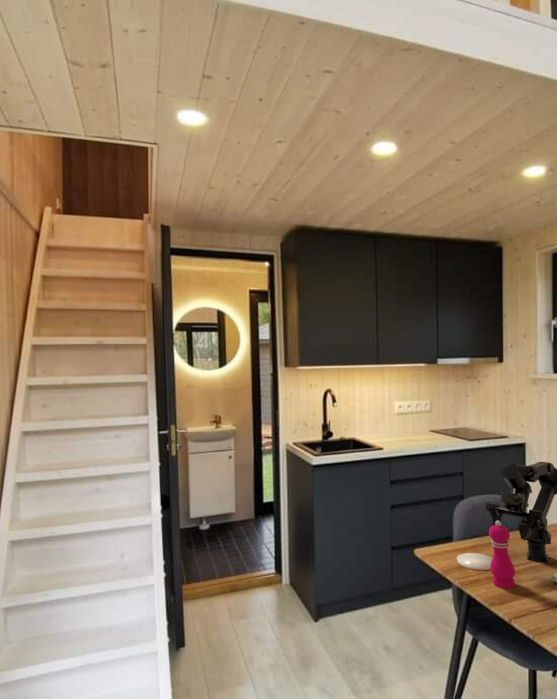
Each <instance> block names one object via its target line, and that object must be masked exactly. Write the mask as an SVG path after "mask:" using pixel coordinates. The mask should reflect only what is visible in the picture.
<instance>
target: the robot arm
mask: <svg viewBox="0 0 557 699" xmlns="http://www.w3.org/2000/svg"><path fill="white" fill-rule="evenodd" d="M501 475H502V477H503V478H504V480H505V482H506V483H507V485H508V486H509V488H511V489H510V492H503V491H502V492H501V494H500V502H501V503H503V507H504V508H502V507H501V506H500V505H499V504H498V503H496V502H490V501H487V502H485V504H484V507H483V509H484V510H485V511H486V513H487V515H488V516H489V517H491V519H492V526H494V525H496V524H495V522H496V521H500V522H501V523H502V519H501V518H502V517H503V515H505V516H509V517H510V516H511V517H515V518H519V519H520V522H519V523H518V531H519V535H520V539H521V540H523V541H526V542H527V543H526V544H527V551H528V552H527V554H526V559H527V560H530V561H531V560H532V561H537V562H543V563H549V554H547V547H546V546H547V545H551V544H552V535H551V533H550V532H549V530H548V528H547V527H548V519H547V516H548V514H549V511H550V509H551V505H552V502H553V500H554V498H555V496H556V495H557V468H556V467H555V466H554V463H551V462H547V461H545V462H544V461H537V462H536V463H533V464H529V465H525V464H516V463H510V464H509V465H508V466H506V467H504V468H503V469H502V471H501ZM537 481H538V482H539V485H540V490H539V492H538V494H537V497H536V500H535V503H534V504H533V507H532V509H529V510H528V512H526V511H527V508H529V505H530V504H529V499H530V494H532V493H533V490H532V486H531V485H530V483H533V484H534V483H536V482H537Z"/></svg>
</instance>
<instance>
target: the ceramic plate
mask: <svg viewBox="0 0 557 699" xmlns="http://www.w3.org/2000/svg"><path fill="white" fill-rule="evenodd" d="M492 559H493V557H491V556H489V555H486V554H482V553H477V552H465V553H461V554H458V555H457V557H456V562H457V563H458V564H459V566H462V567H463V568H466V569H470V570H476V571H489V570H490V565H491V561H492Z"/></svg>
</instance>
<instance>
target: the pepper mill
mask: <svg viewBox="0 0 557 699" xmlns="http://www.w3.org/2000/svg"><path fill="white" fill-rule="evenodd" d="M495 524H496V525H494V526H493V525H491V527H490V528H489V530H488V534H489V537H490V538H491V545H492V547H493V557H492V558H493V559H492V561H491V565H490V572H491V574H492V575H493V576H492V583H493V585H494V586H495V587H498V588H500V589H506V590H507V589H514V587H515V586H516V585H515V579H514V577H515V575H516V569H515V567H514V566H515V565H514V564H513V562H512V560H511V558H510V555H509V551H508V549H509V547H510V546H509V541H508V540H509V539H510V536H511V535H510V532H509V530H508V528H506V526H503V525H502V521H501V522H500V521H496V522H495Z"/></svg>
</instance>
